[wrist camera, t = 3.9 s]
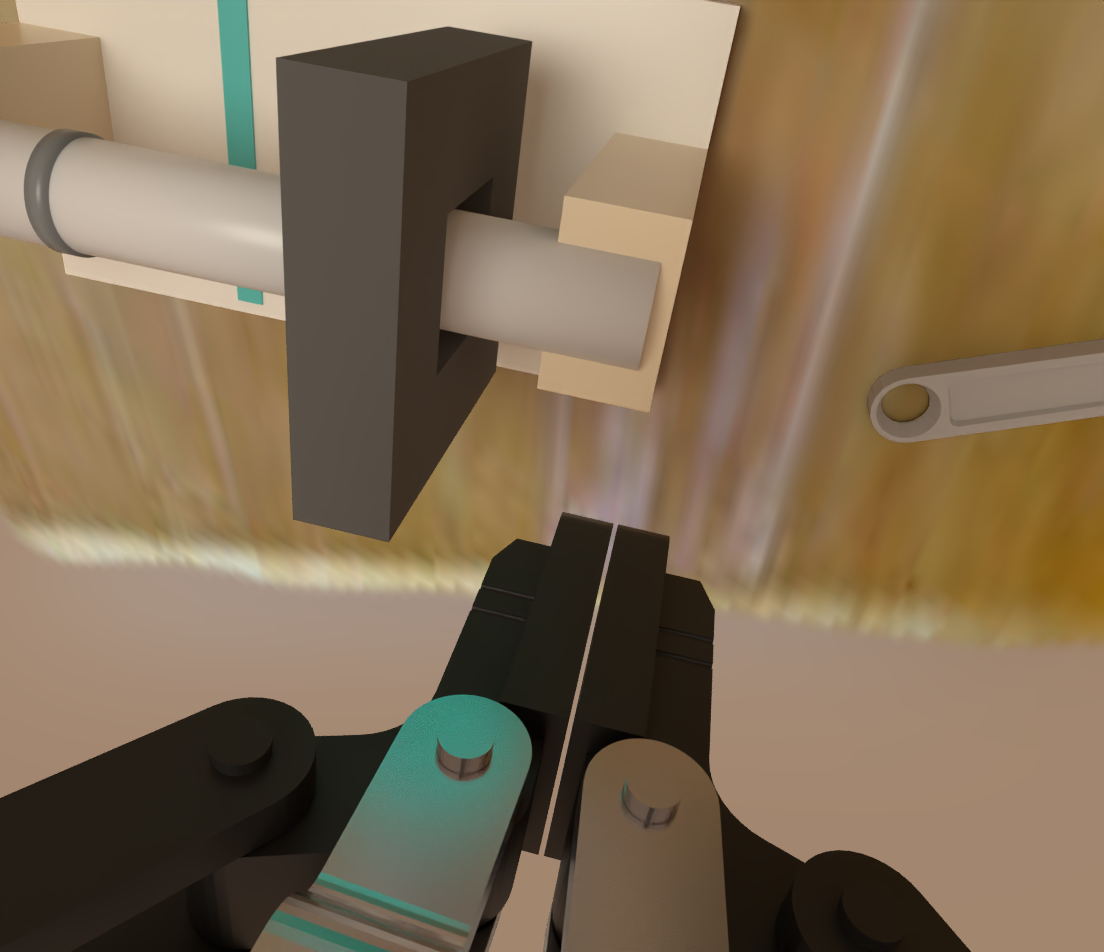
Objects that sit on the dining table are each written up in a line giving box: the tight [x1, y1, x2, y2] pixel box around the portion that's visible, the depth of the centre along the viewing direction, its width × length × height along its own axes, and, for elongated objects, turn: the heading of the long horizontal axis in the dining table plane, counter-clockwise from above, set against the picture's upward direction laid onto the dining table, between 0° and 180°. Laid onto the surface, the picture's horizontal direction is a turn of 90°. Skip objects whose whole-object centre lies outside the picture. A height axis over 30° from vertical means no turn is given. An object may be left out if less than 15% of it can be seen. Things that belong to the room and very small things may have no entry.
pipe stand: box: [0, 0, 740, 413], centre depth 25 cm, size 24×13×12 cm, turn 82°
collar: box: [276, 26, 532, 542], centre depth 21 cm, size 2×10×10 cm, turn 172°
